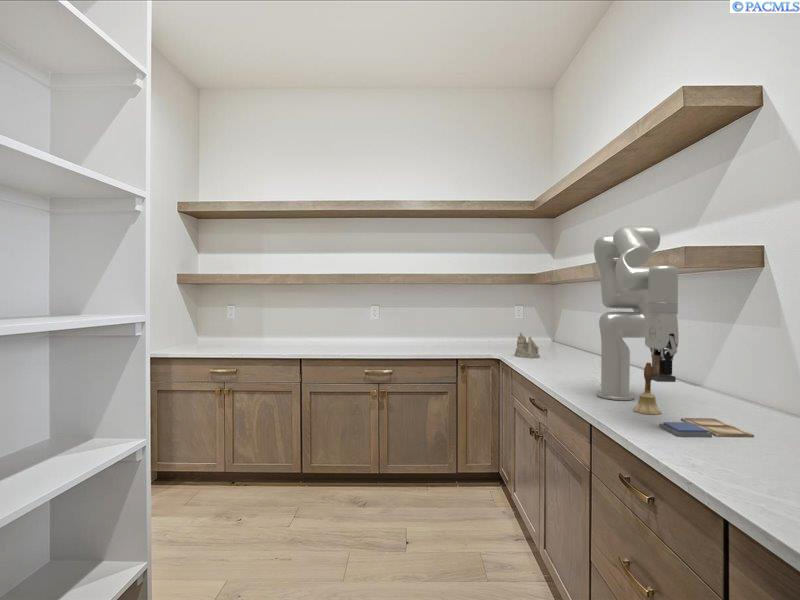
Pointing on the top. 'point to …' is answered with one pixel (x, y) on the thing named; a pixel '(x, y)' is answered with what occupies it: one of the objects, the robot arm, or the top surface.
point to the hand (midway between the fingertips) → (661, 372)
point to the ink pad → (685, 429)
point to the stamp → (656, 372)
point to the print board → (718, 427)
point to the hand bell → (647, 396)
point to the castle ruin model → (526, 348)
